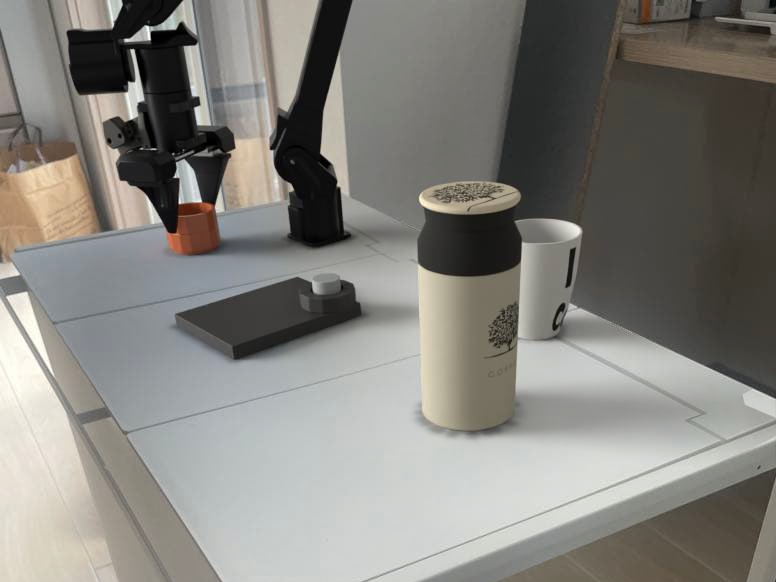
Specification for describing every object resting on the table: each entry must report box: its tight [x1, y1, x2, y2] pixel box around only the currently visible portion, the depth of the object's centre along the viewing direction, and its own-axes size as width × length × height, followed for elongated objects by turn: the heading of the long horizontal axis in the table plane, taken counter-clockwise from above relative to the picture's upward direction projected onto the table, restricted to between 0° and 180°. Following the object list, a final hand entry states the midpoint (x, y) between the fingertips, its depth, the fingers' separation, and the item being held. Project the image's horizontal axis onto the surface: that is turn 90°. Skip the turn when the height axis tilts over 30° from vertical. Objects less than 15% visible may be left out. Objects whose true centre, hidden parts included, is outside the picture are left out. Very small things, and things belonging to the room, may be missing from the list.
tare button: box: [311, 272, 341, 295], centre depth 89 cm, size 3×3×2 cm
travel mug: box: [416, 180, 522, 432], centre depth 67 cm, size 8×8×18 cm
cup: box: [514, 218, 583, 341], centre depth 83 cm, size 8×8×10 cm
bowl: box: [164, 201, 222, 256], centre depth 111 cm, size 7×7×5 cm
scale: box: [174, 276, 362, 360], centre depth 90 cm, size 16×12×3 cm
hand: (191, 222), depth 111 cm, fingers open, 9 cm apart
